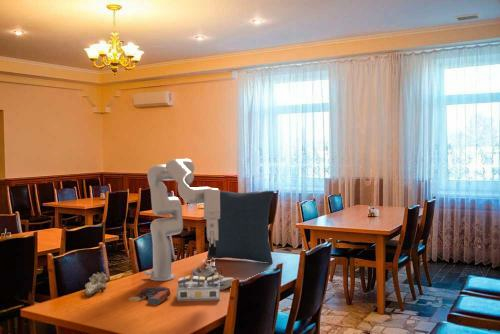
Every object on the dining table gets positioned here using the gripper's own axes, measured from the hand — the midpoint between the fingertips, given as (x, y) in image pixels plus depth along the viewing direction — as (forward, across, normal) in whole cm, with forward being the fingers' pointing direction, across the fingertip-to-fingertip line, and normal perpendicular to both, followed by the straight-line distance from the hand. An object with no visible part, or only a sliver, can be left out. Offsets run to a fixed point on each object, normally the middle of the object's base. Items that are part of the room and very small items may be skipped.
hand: (212, 255), depth 222 cm
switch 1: (+11, 0, +13) cm, 17 cm away
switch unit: (+19, 0, +6) cm, 20 cm away
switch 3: (+11, 0, 0) cm, 11 cm away
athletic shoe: (+20, +17, 0) cm, 26 cm away
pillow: (+19, +70, -15) cm, 74 cm away
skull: (+19, +12, +57) cm, 61 cm away
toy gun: (+20, 0, +28) cm, 34 cm away
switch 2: (+11, 0, +6) cm, 13 cm away
